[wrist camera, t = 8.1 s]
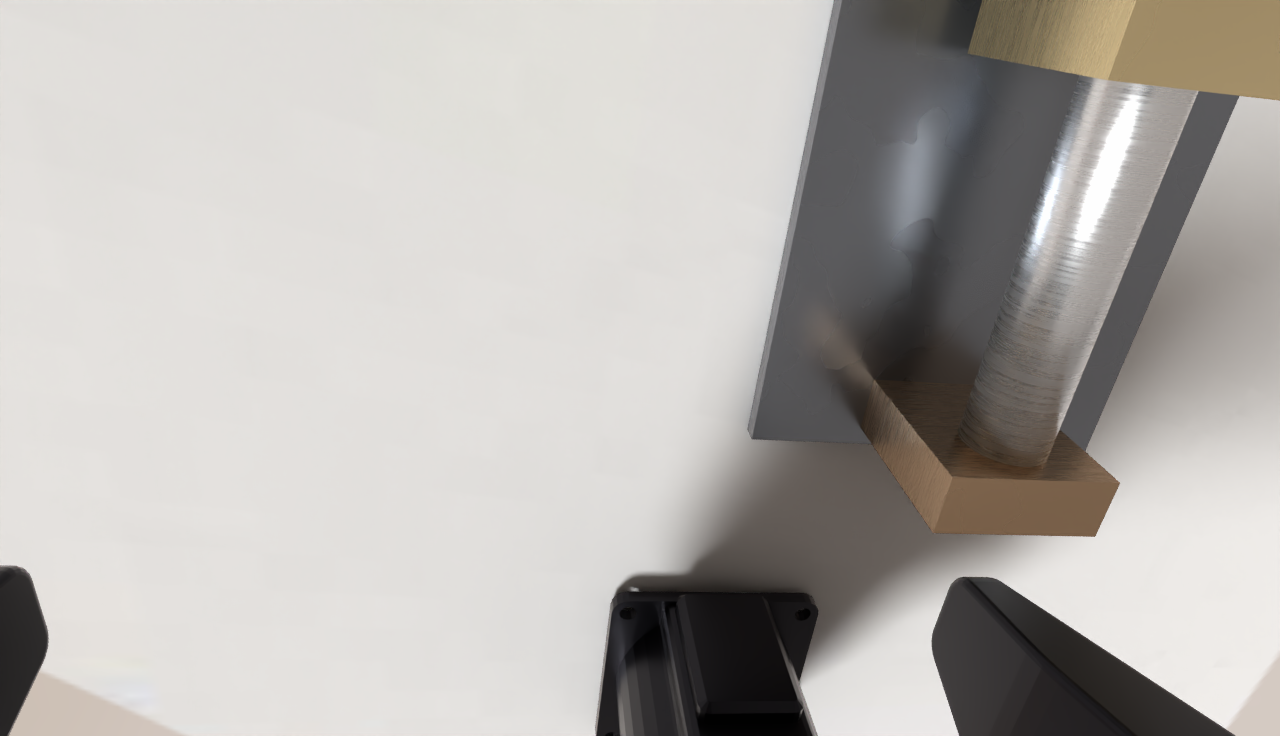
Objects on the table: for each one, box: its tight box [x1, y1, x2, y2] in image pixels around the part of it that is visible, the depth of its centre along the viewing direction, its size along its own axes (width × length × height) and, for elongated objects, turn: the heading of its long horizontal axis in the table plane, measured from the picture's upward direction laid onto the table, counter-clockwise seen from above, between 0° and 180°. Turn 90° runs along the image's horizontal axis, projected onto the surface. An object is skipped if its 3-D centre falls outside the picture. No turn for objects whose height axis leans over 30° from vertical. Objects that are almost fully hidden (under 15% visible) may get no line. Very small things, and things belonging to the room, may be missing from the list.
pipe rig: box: [748, 0, 1239, 537], centre depth 15 cm, size 22×10×5 cm, turn 173°
